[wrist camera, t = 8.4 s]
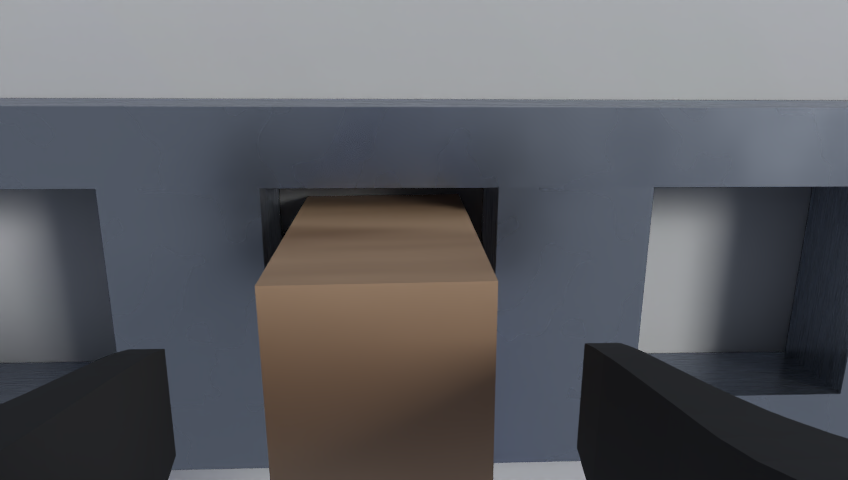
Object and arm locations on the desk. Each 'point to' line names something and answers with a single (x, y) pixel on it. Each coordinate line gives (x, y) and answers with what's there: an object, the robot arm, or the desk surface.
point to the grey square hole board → (501, 236)
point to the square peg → (379, 342)
